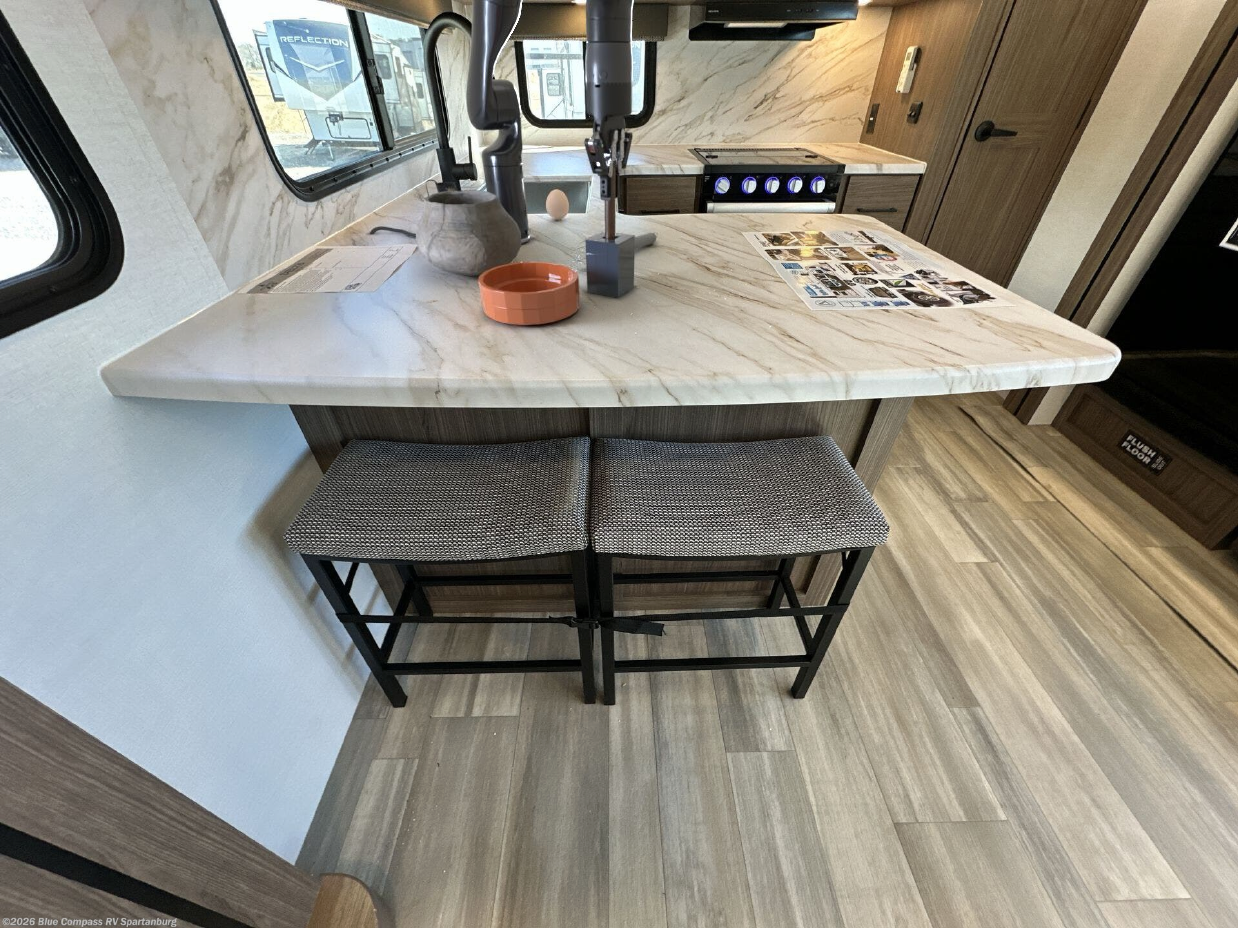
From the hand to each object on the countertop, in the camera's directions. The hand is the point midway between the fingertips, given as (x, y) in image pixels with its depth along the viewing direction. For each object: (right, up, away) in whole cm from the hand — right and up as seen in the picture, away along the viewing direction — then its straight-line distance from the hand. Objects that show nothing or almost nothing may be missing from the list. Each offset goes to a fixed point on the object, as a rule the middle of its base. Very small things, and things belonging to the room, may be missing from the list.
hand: (609, 198), depth 92 cm
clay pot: (-30, -6, +19) cm, 36 cm away
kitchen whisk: (+1, 0, +28) cm, 28 cm away
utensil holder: (0, -13, +10) cm, 17 cm away
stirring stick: (0, -12, +9) cm, 15 cm away
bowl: (-14, -19, +2) cm, 24 cm away
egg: (-16, +24, +57) cm, 64 cm away
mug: (-45, +17, +49) cm, 69 cm away
